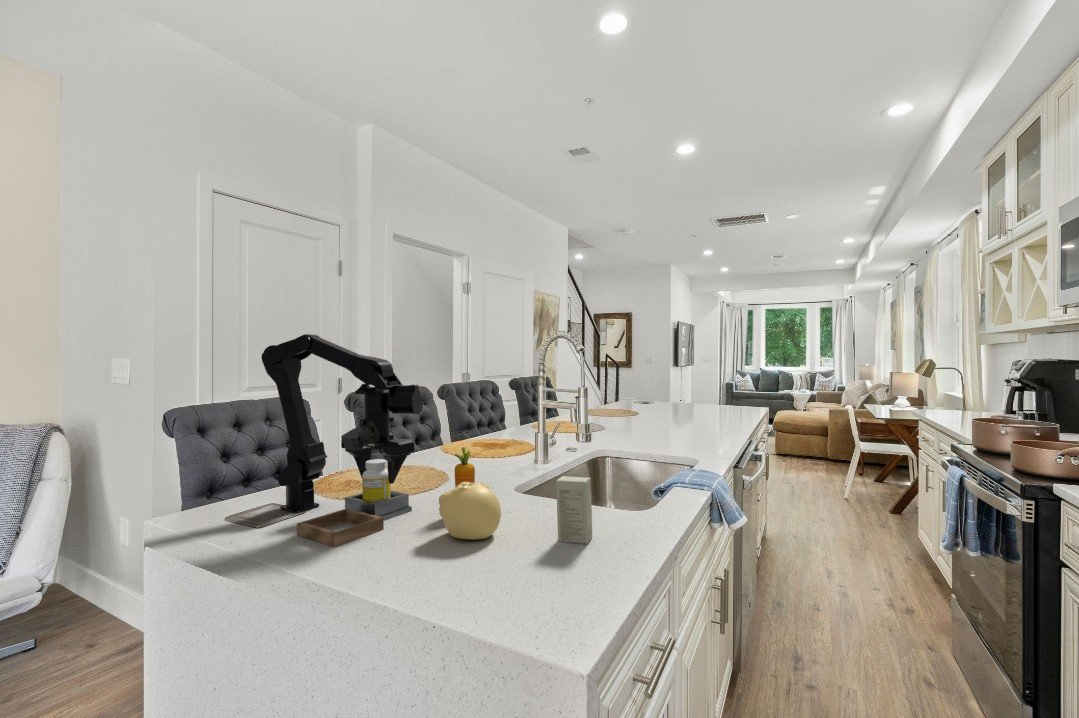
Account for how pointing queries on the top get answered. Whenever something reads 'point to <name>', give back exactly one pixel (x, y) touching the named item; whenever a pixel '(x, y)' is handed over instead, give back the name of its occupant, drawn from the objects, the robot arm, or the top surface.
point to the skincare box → (574, 509)
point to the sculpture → (470, 511)
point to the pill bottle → (375, 481)
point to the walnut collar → (364, 527)
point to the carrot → (464, 469)
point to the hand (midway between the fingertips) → (377, 480)
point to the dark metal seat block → (380, 505)
